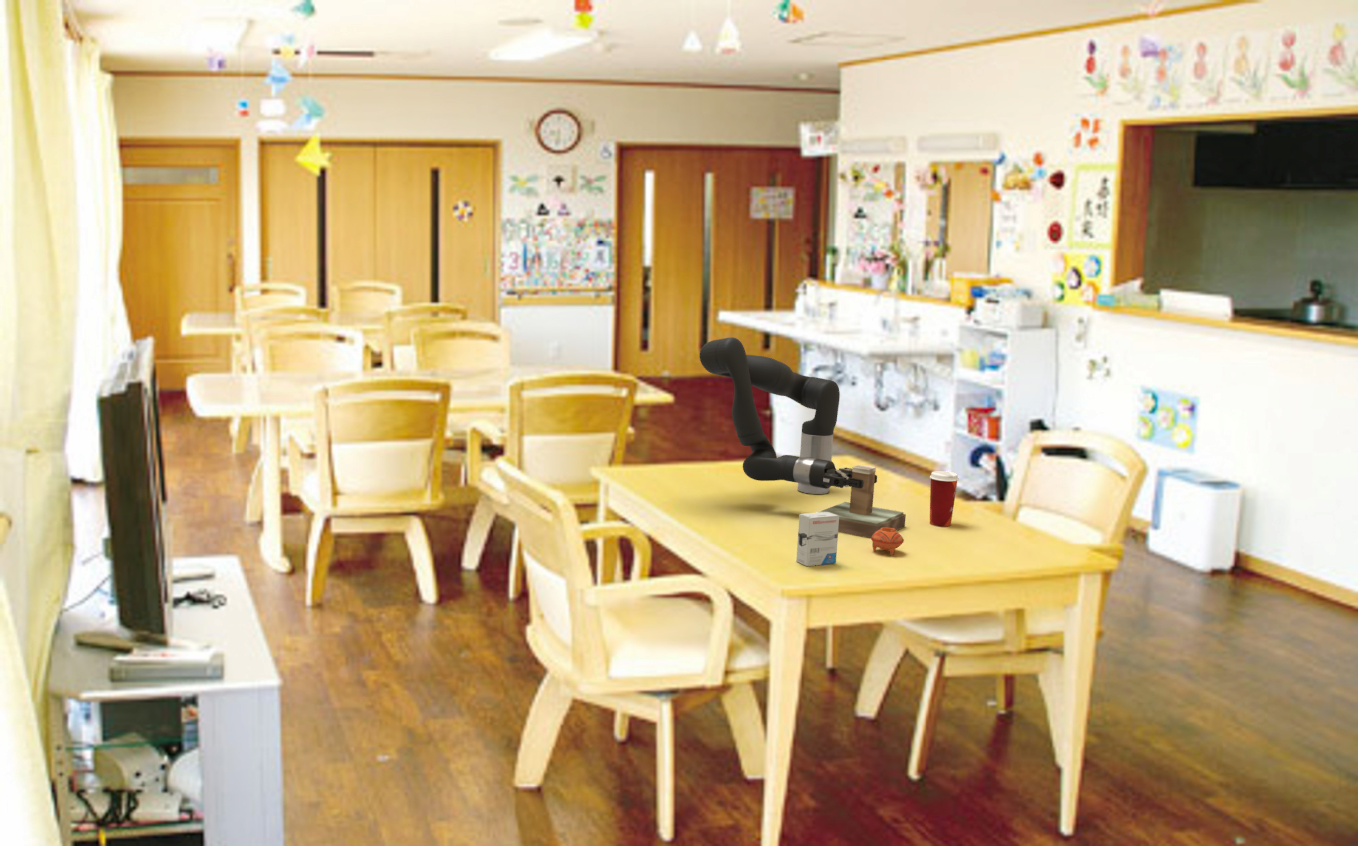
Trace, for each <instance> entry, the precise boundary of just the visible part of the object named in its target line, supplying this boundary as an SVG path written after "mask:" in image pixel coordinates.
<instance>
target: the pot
mask: <svg viewBox="0 0 1358 846" xmlns="http://www.w3.org/2000/svg"><path fill="white" fill-rule="evenodd" d="M895 530H896V529H894V528H887V527H883V528H881V529H880V530H878V531H876V532H875V533H874V534H873V535H872V537H871V538H870V540H871V542H872V545H871V546H872V549H873V551H874V552H876V550H877V548H879V549H880V550H883V551H889V553H890V556H893V555H894V553H895V550H896V549H898V548H899V547H901V545H903V543H904V542H905V539H904V537H903V536H902V535H901V533H899V532H898V530H897V531H895Z"/></svg>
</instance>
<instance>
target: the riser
mask: <svg viewBox="0 0 1358 846" xmlns="http://www.w3.org/2000/svg"><path fill="white" fill-rule="evenodd" d="M849 511H850V501H849V502H848V501H843V502H841V503H838V504H836V505H833V506H830V507H828V508H825V509H823V510H820V511H817V512H816V513H819V512H830V513H832V514H835V515H838V516H839V527H838V533H842V534H847V535H851V534H852V536H858V537H861V538H868V539H871V537H872V535H873V534H874V533H875V532H876V531H878V530H880V529H881V528H883V527H887V528H894V529H896V530H897V531H899V530H901V529H903V528H906V517H907V515H906V513H904V512H903V511H898V510H893V509H889V508H882V507H876V506H873V507H872V513H869V514H867V515H861V514H856V513H850V512H849ZM896 530H895V531H896Z"/></svg>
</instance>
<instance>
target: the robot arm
mask: <svg viewBox="0 0 1358 846" xmlns="http://www.w3.org/2000/svg"><path fill="white" fill-rule="evenodd" d="M699 361H700V363H701V365H702V367H703V368H704V369H705V370H706V371H707V372H709V373H710V374H713V375H717V376H721V377H725V378H726V377H727V378H730V379H732V383H733V387H734V388H733V389H734V392H733V393H734V394H733V401H732V407H731V417H732V423H733V427H734V428H735V429H734V430H735V431H736V435H737V438H738V440H739V443H740V444H741V445H742V446H744V447H750V450H751V454H749V455H748V456H747V457H746V458H745V459H744V460H743V463H742V470H743V473H744V475H746V476H747V477H748V478H750V479H752V480H755V481H760V482H766V481H767V482H769V481H770V482H771V481H774V482H775V481H786V482H791V483H796V484H797V490H798V491H799V492H802V493H805V494H813V495H824V494H825V495H826V494H828V493H830V488H831V487H835V488H836V487H837V488H840V489H843V488H849V487H850V488H851V487H855V488H863V484H864V481H863V480H861V479H855V478H852V468H851V467H841V468H838V469H837V468H836V465H835V463H834V462H833V461H832V460H833V459H832V458H833V457H832V456H833V446H834V445H833V443H834V431H835V427H836V425H837V422H838V414H839V407H840V406H839V405H840V397H841V395H840V394H841V393H840V387H839V385H838V383H837V382H836V381H834V380H832V379H827V378H821V377H815V376H807V375H803V374H800V373H796V372H794V371H793V370H792V369H791V367H790V366H788V365H787V364H786V363H784V362H782V361H779V360H778V359H777V360H776V359H774V358H772V357H768V356H763V355H753V354H747V353H746V350H745V346H744V344H743V343H742V341H741V340H739V339H738V338H737V337H725V338H724V337H723V338H718V339H714V340H713V339H712V340H711V341H708V342H706V343H705V344H703V345H702V347H701V349H700V350H699ZM753 387H755V388H756V389H758V390H761V391H764V392H766V393H769V394H773V395H776V396H779V397H780V396H781V397H786V398H789V399H790V400H792V401H794V402H795V403H798V404H800V405H801V406H803V407H805V408H807V409H811V410H815V413H814V414H815V415H814V417H813V418H812V419H810V420H806V421H803V423H802V425H801V436H800V450H799V451H800V452H799V456H798V455H797V456H796V455H791V454H784V455H781V456H779V457H778V456H777V453H776V450H775V448H774V447H773V445H772V444H771V442H770V440H769V439H768V437H767V435H766V434H765V433H764V430H763V427H762V426H763V425H762V423H761V420H760V417H759V414H758V412H757V407H756V404H755V399H754V394H753V393H754V392H753ZM876 483H878V475H877V474H875V482H874V484H876Z"/></svg>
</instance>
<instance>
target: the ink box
mask: <svg viewBox="0 0 1358 846" xmlns="http://www.w3.org/2000/svg"><path fill="white" fill-rule="evenodd" d="M818 512H819V513H817V512H807V513H799V515H798V531H797V544H796V545H797V547H796V562H798V563H800V564H801V565H803V566H805V567H814V566H815V565H816V566H824V565H833V564H832V563H835V564H837V563H836V562H837V553H838V552H837V551H838V539H839V532H838V527H839V516H838V515H835V514H832V513H830V512H820V511H818Z"/></svg>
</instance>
